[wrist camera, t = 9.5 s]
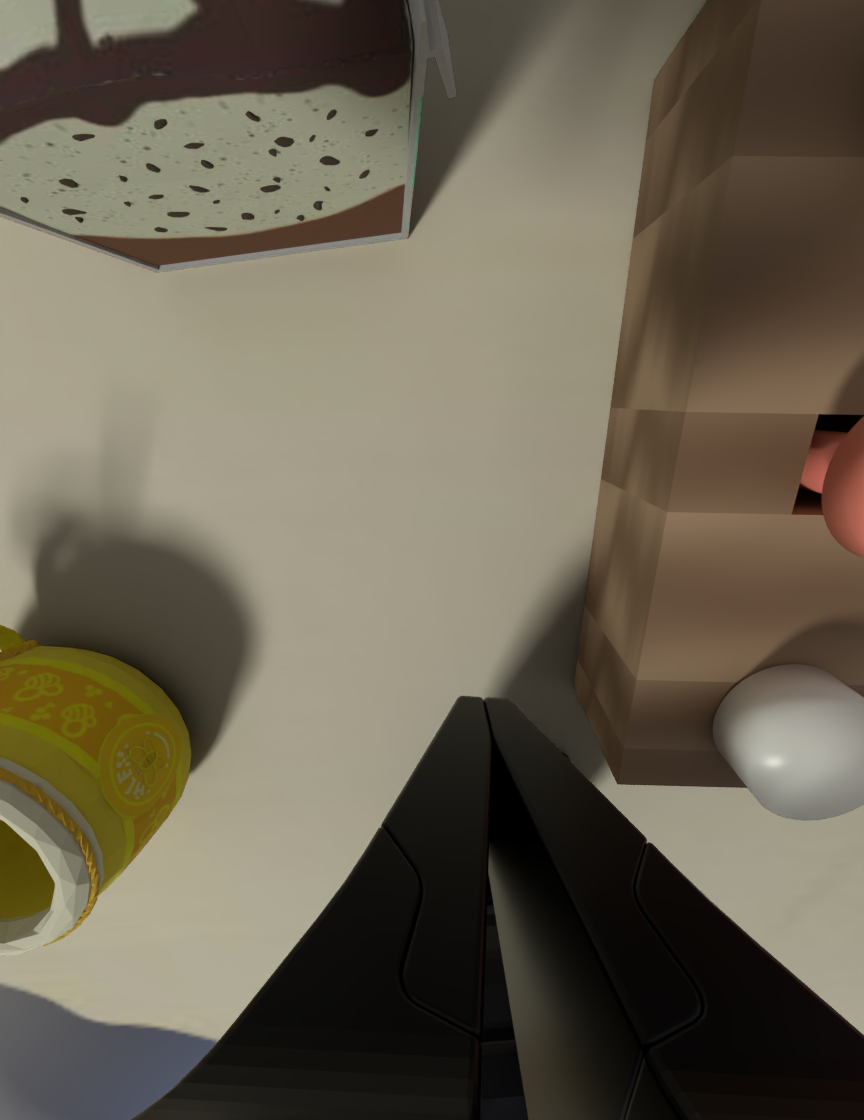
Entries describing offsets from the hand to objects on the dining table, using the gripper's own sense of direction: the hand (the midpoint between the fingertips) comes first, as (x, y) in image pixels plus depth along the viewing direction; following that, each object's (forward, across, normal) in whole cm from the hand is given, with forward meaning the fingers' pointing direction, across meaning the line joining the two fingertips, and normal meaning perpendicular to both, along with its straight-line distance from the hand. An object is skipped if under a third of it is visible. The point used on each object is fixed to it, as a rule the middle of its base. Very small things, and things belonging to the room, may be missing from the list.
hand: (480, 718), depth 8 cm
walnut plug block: (+13, -11, -4) cm, 17 cm away
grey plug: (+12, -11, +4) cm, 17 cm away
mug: (+13, +18, +10) cm, 24 cm away
